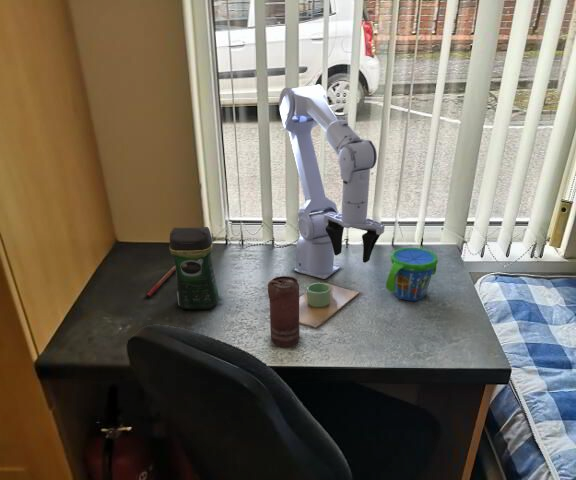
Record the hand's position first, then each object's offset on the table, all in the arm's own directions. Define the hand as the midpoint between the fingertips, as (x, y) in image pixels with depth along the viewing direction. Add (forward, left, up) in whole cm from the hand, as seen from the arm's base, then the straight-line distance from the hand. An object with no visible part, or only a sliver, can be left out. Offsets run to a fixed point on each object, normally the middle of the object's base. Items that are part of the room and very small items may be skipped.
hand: (351, 257), depth 135 cm
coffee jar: (-28, -24, -10) cm, 38 cm away
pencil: (-44, -20, -10) cm, 49 cm away
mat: (-4, -9, -9) cm, 13 cm away
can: (-1, -27, -10) cm, 29 cm away
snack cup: (+13, +7, -10) cm, 17 cm away
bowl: (-3, -9, -9) cm, 13 cm away
